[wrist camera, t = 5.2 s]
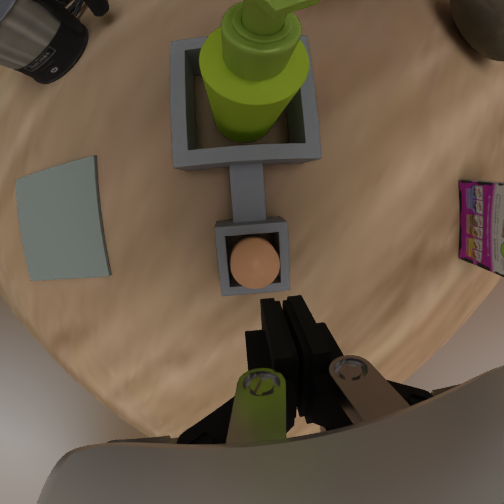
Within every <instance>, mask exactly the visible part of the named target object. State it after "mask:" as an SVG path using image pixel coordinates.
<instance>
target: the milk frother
mask: <svg viewBox="0 0 504 504" xmlns="http://www.w3.org/2000/svg"><path fill="white" fill-rule="evenodd" d="M68 1H69V0H0V65H3V66H5V67H8V68H12V69H14V70H17V71H19V72H22V73H24V74H26V75H28V76H30V77H32V78H34V79H35V80H36V81H37V82H39V83H43V84H46V83H50V82H53V81H55V80H57V79H58V78H60V77H61V76H62V75H64V74H65V73H66V72H67V71H68V70H69V69H70V68H71V67H72V66H73V65H74V64H75V63H76V61H77V60H78V58H79V57H80V56H81V54H82V52H83V50H84V48H85V46H86V43H87V38H88V34H87V33H88V32H87V29H86V27H85V26H84V25H83V24H81V22H80V21H79V20H78V19H77V18H76V16H77V14H78V12H79V10H80V8H81V6H82V4H83V2H85V3H86V4H87V6H88V7H89V8H90V10H91V11H92V12H93V14H94V15H95V16H98V17H99V16H103V15H104V14H106V13H107V12H108V10H109V4H108V1H107V0H75V1H74V2H73V3H72V5H71V6H69V7H68V8H67V9H66V8H65V7H64V6H62V5H67V4H68V3H67V2H68ZM73 11H74V12H73ZM72 12H73V14H71V13H72Z"/></svg>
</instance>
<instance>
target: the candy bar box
mask: <svg viewBox="0 0 504 504" xmlns="http://www.w3.org/2000/svg"><path fill="white" fill-rule="evenodd" d="M459 193H460V253H459V258H460V259H462V260H464V261H467V262H469V263H472V264H474V265H477V266H479V267H481V268H484V269H486V270H488V271H491V272H493V273H496V274H498V275H500V276H502V277H504V182H495V181H481V180H459Z"/></svg>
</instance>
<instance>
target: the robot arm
mask: <svg viewBox="0 0 504 504" xmlns="http://www.w3.org/2000/svg"><path fill="white" fill-rule="evenodd" d="M260 304H261V321H262V330H255V331H245V338H246V349H247V361H248V372H246V373H244V374H243V375H242V376H241V377H240V378H239V380H238V383H237V388H236V393H235V396H234V397H233V398H231V399H230V400H229V401H227V402H226V403H225V404H223V405H222V406H221V407H219V408H218V409H216V410H215V411H214V412H212V413H211V414H209V415H208V416H207V417H205V418H204V419H202V420H201V421H199V422H198V423H196V424H195V425H193V426H192V427H191V428H189V429H187V430H186V431H185V432H183V433H182V434H181V435H180V436H179V437H178V438H171V437H170V436H162V437H152V438H140V439H124V440H112V441H109V442H107V443H101V444H94V445H87V446H83V447H79V448H76V449H73V450H71V451H69V452H67V453H66V454H65V455H64V456H63V457H62V458H61V459H60V460H59V461H58V462H57V464H56V465H55V466H54V468H53V470H52V471H51V473H50V475H49V477H48V478H47V480H46V483H45V484H44V487H43V489H42V491H41V494H40V496H39V499H38V501H37V504H504V366H501V367H498V368H495V369H492V370H490V371H487V372H485V373H483V374H481V375H479V376H477V377H474V378H472V379H470V380H468V381H466V382H464V383H462V384H459V385H454V386H450V387H446V388H441V389H436V390H432V392H431V393H429V392H428V391H425V390H422V389H419V388H414V387H411V386H407V385H403V384H400V383H396V382H392V381H389V380H386V379H385V378H384V377H383V376H382V375H381V374H380V373H379V372H378V371H377V370H376V369H375V368H374V367H373V365H372V364H371V363H370V362H369V361H367V360H366V359H364V358H362V357H359V356H354V355H346V356H344V355H343V354H342V352H341V350H340V348H339V347H338V345H337V343H336V341H335V340H334V338H333V336H332V334H331V333H330V331H329V329H328V328H327V326H326V324H325V323H323V322H322V323H316V322H315V320H314V318H313V316H312V314H311V312H310V311H309V309H308V307H307V305H306V303H305V301H304V299H303V298H302V296H301V295H298V296H288V297H287V300H283V310H282V307H281V304H280V301H275V300H274V298H269V299H260ZM297 409H298V413H299V416H300V417H303V416H305V419H306V423H307V424H309V423H315V424H318V425H320V431H321V432H320V433H314V434H309V435H304V436H298V437H291V438H286V433H287V432H288V431H289V430H290V429H291V428H292V427H293V426H294V419H295V418H296V410H297Z"/></svg>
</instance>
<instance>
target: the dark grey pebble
mask: <svg viewBox="0 0 504 504" xmlns="http://www.w3.org/2000/svg"><path fill="white" fill-rule="evenodd" d="M450 7H451V12H452V16H453V19H454V22H455V24H456V26H457V28H458V29H459V31H460V33H461V34H462V36H463V37H464V39H465V40H466V41H467V42H468V43H469V45H470V46H471V47H473V48H474V49H475V50H476V51H477V52H479V53H480V54H481V55H483V56H485V57H487V58H489V59H492V60H496V61H504V0H450Z"/></svg>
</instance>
